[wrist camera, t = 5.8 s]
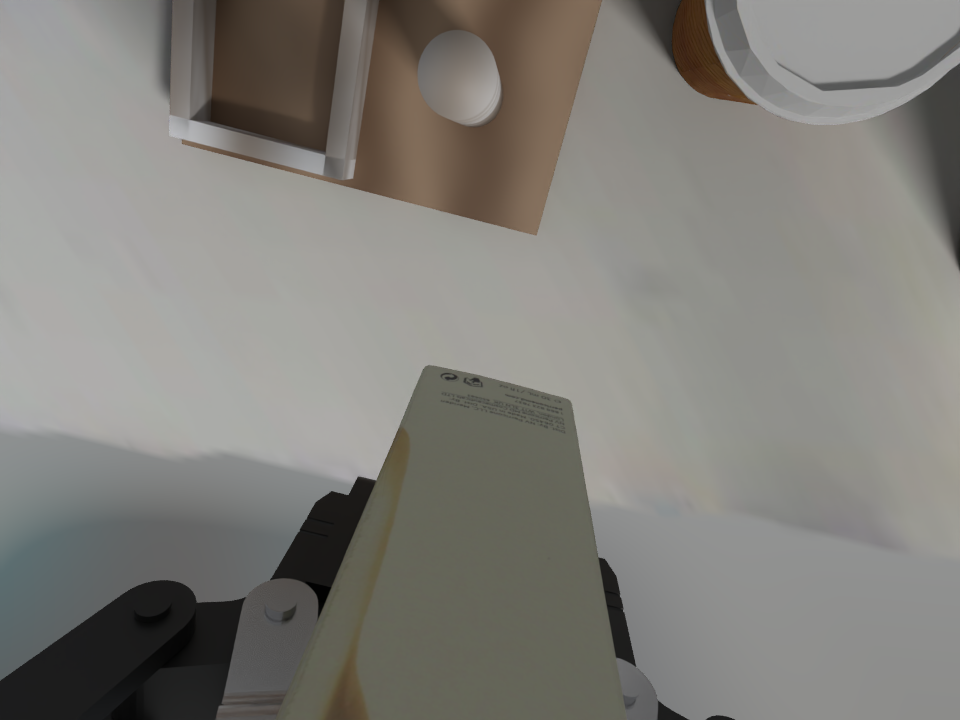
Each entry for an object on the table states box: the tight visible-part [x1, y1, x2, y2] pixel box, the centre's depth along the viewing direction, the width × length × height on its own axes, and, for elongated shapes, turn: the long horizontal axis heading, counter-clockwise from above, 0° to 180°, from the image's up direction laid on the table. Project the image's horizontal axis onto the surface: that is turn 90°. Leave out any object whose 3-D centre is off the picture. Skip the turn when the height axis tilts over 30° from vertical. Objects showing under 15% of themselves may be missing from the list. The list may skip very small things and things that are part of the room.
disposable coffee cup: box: [672, 0, 960, 125], centre depth 22 cm, size 10×10×12 cm
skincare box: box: [275, 365, 627, 720], centre depth 10 cm, size 6×4×12 cm
